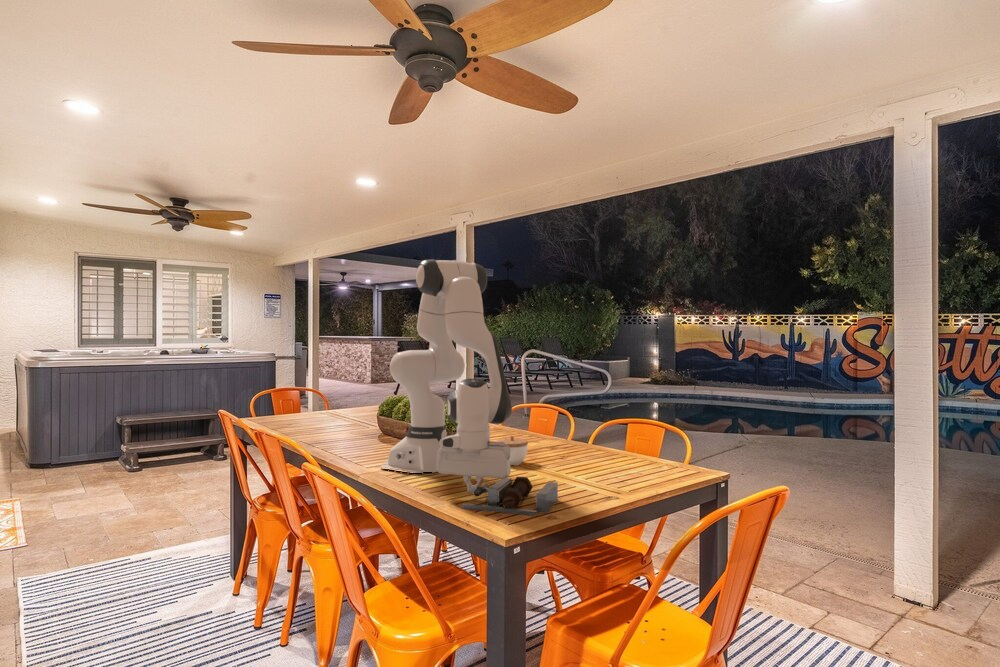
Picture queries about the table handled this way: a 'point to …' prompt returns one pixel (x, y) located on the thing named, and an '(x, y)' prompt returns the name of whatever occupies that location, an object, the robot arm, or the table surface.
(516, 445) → the lidded jar
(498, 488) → the jaw
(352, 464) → the table surface
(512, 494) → the bolt
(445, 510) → the table surface
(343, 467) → the table surface
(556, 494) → the vise
